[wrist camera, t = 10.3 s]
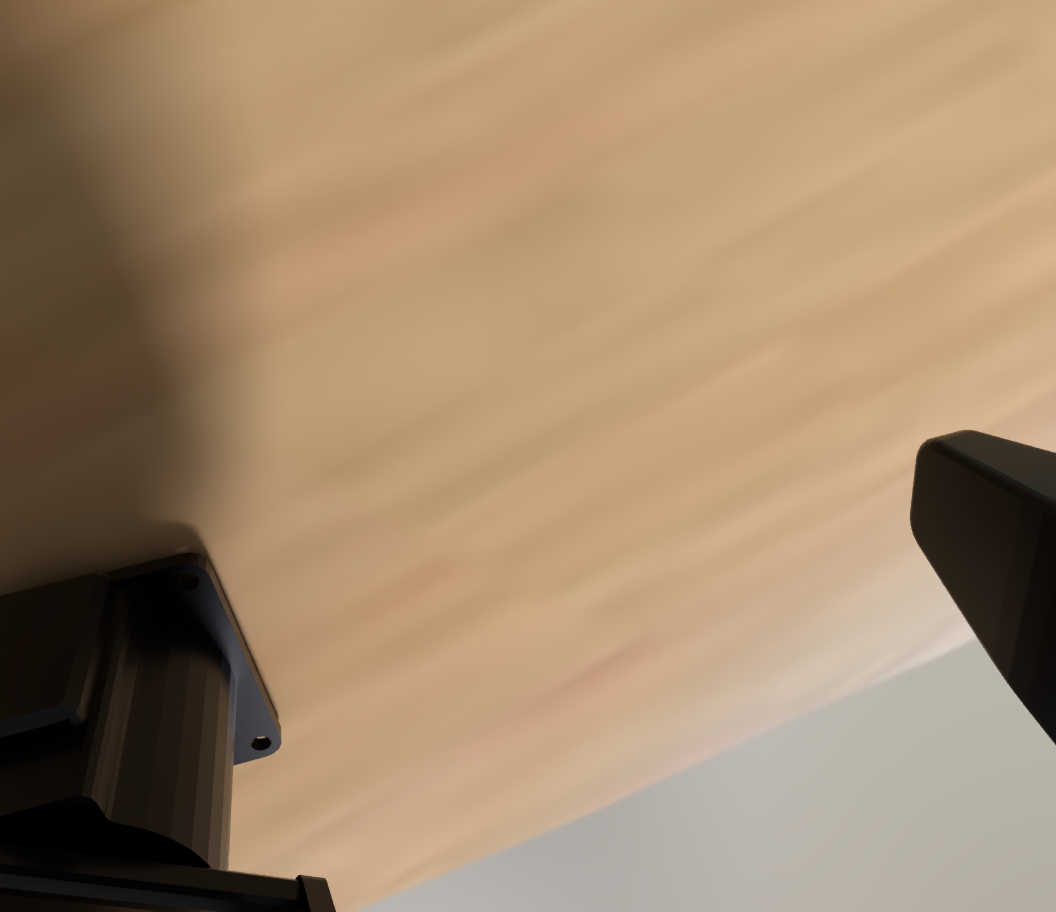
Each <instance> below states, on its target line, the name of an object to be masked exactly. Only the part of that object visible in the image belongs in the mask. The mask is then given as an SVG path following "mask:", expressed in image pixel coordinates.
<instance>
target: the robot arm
mask: <svg viewBox="0 0 1056 912" xmlns="http://www.w3.org/2000/svg"><path fill="white" fill-rule="evenodd" d="M910 522H911V528H912V532H913V535H914V537H915V540H916V542H917V543H918V545H919V547H920V548H921V550H922V552H923V553H924V555H925V556H926V558H927V559H928V561H929V563H930V564H931V566H932V567H933V569H934V570H935V572H936V574H937V575H938V577H939V578H940V580H941V581H942V583H943V585H944V586H945V588H946V589H947V591H948V592H949V594H950V596H951V597H952V599H953V600H954V602H955V603H956V605H957V607H958V608H959V610H960V611H961V613H962V614H963V616H964V618H965V619H966V621H967V622H968V624H969V625H970V627H971V628H972V630H973V632H974V633H975V635H976V636H977V638H978V639H979V641H980V643H981V644H982V646H983V647H984V649H985V650H986V652H987V654H988V655H989V657H990V658H991V660H992V661H993V663H994V664H995V666H996V667H997V669H998V670H999V671H1000V673H1001V674H1002V676H1003V677H1004V679H1005V680H1006V682H1007V683H1008V684H1009V686H1010V687H1011V688H1012V690H1013V691H1014V692H1015V694H1016V695H1017V696H1018V698H1019V699H1020V700H1021V701H1022V702H1023V704H1024V706H1025V707H1026V708H1027V709H1028V711H1029V712H1030V713H1031V714H1032V716H1033V717H1034V718H1035V719H1036V721H1037V722H1038V723H1039V724H1040V726H1041V727H1042V728H1043V730H1044V731H1045V732H1046V733H1047V735H1049V737H1050V738H1051V739H1052V741H1053V742H1054V743H1055V745H1056V453H1054V452H1050V451H1047V450H1043V449H1039V448H1036V447H1032V446H1029V445H1025V444H1021V443H1018V442H1014V441H1010V440H1007V439H1003V438H1000V437H996V436H992V435H989V434H985V433H981V432H978V431H973V430H962V431H957V432H954V433H950V434H946V435H942V436H938V437H935V438H931V439H928V440H927V441H925V442H924V443H923V444H922V445H921V446H920V448H919V450H918V452H917V457H916V465H915V473H914V482H913V491H912V500H911V509H910ZM182 573H192V574H195V575H196V576H197V577H196V578H194V579H190V580H186V579H183V578H181V577H180V576H179V575H180V574H182ZM261 736H264V737H266V738H261V739H258V738H257V737H261ZM280 745H281V726H280V724H279V721H278V719H277V717H276V714H275V712H274V710H273V707H272V705H271V703H270V701H269V698H268V696H267V694H266V691H265V689H264V687H263V684H262V682H261V680H260V677H259V675H258V673H257V670H256V668H255V666H254V663H253V661H252V659H251V657H250V654H249V652H248V650H247V647H246V645H245V643H244V640H243V638H242V636H241V633H240V631H239V629H238V626H237V624H236V622H235V619H234V617H233V615H232V613H231V610H230V608H229V606H228V603H227V601H226V599H225V596H224V594H223V592H222V589H221V587H220V585H219V582H218V580H217V578H216V575H215V573H214V571H213V569H212V566H211V564H210V563H209V562H208V560H207V559H206V558H204V557H202V556H200V555H198V554H193V553H184V554H178V555H174V556H170V557H166V558H162V559H158V560H154V561H150V562H146V563H142V564H138V565H134V566H130V567H126V568H122V569H118V570H114V571H110V572H106V573H102V574H100V573H92V574H88V575H84V576H80V577H76V578H72V579H68V580H64V581H60V582H56V583H52V584H48V585H44V586H40V587H36V588H32V589H28V590H24V591H20V592H16V593H12V594H8V595H4V596H0V912H336V910H335V907H334V904H333V900H332V897H331V894H330V890H329V887H328V884H327V881H326V879H325V878H319V877H312V876H304V875H298V876H297V877H296V879H288V878H281V877H273V876H266V875H258V874H251V873H243V872H236V871H228V863H229V842H230V822H231V801H232V780H233V765H237V764H241V763H244V762H248V761H251V760H255V759H259V758H262V757H266V756H268V755H271V754H273V753H275V752H276V751H277V750H278V749H279V747H280Z"/></svg>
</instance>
